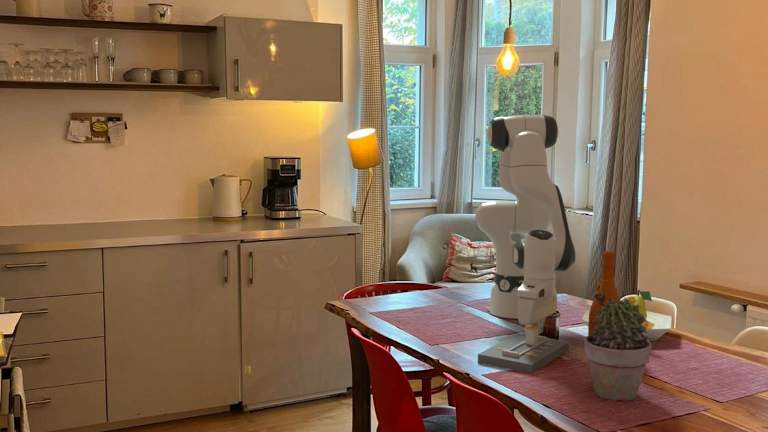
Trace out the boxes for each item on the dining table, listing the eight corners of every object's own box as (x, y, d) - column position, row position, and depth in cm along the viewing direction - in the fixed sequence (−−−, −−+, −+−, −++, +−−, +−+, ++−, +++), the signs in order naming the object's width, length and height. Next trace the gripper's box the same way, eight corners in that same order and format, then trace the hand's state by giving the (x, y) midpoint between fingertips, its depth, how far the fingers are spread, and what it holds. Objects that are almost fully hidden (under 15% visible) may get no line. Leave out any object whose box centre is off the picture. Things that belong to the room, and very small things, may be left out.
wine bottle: (623, 351, 223) (628, 248, 219) (622, 361, 214) (627, 254, 210) (588, 347, 226) (592, 246, 222) (586, 357, 217) (590, 252, 213)
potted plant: (651, 414, 175) (657, 307, 172) (568, 398, 185) (571, 296, 182) (669, 391, 190) (674, 292, 187) (590, 377, 200) (594, 283, 197)
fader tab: (529, 341, 223) (530, 323, 223) (538, 342, 222) (539, 325, 221) (524, 344, 221) (525, 326, 220) (533, 345, 219) (534, 327, 218)
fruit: (693, 337, 238) (695, 291, 236) (645, 352, 222) (647, 304, 220) (610, 317, 261) (611, 275, 259) (561, 330, 245) (562, 286, 243)
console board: (518, 340, 233) (519, 328, 233) (569, 349, 224) (569, 337, 223) (477, 362, 212) (478, 349, 212) (531, 373, 203) (531, 360, 202)
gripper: (543, 279, 233) (542, 324, 234) (514, 291, 216) (512, 339, 218) (563, 282, 229) (561, 327, 231) (535, 294, 212) (533, 343, 214)
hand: (537, 333), depth 224 cm, fingers closed
